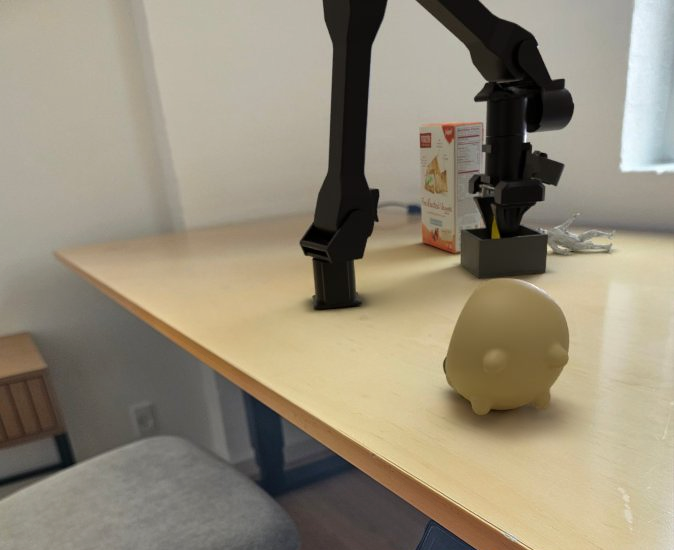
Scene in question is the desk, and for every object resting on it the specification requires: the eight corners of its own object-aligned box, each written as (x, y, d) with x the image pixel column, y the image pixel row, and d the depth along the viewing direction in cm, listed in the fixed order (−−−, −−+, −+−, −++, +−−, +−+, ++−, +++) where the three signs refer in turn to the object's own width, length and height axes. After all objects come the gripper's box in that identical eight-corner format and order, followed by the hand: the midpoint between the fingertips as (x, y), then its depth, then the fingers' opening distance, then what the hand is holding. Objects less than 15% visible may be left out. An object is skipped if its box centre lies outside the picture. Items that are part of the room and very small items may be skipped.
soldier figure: (608, 261, 106) (536, 240, 107) (597, 276, 111) (528, 256, 112) (619, 221, 108) (548, 200, 109) (608, 238, 113) (540, 218, 114)
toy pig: (547, 433, 58) (521, 331, 62) (605, 367, 47) (569, 248, 51) (439, 443, 58) (420, 338, 61) (472, 378, 46) (446, 256, 50)
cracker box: (420, 243, 128) (417, 124, 119) (448, 239, 129) (448, 121, 120) (452, 254, 116) (452, 122, 107) (482, 250, 117) (485, 119, 108)
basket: (545, 272, 98) (548, 234, 96) (478, 278, 98) (479, 240, 96) (521, 258, 108) (523, 224, 106) (460, 264, 108) (460, 229, 106)
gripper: (587, 131, 87) (576, 252, 94) (538, 130, 103) (532, 233, 110) (504, 138, 86) (499, 259, 93) (468, 136, 103) (466, 239, 110)
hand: (501, 246), depth 102 cm, fingers closed on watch, 6 cm apart
